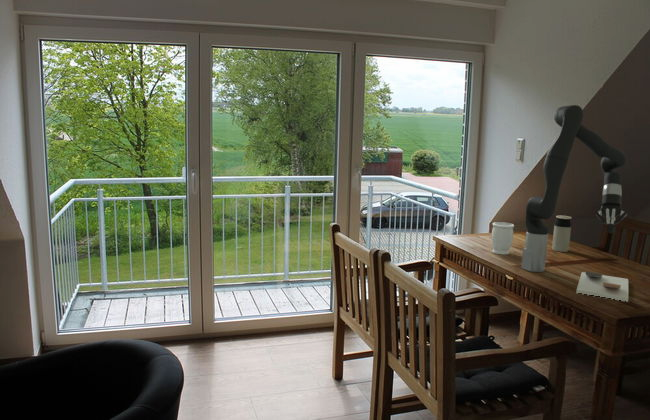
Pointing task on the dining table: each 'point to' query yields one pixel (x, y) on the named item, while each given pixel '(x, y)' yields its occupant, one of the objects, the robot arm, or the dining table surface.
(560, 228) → the travel mug
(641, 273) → the dining table surface
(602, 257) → the dining table surface
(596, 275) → the tile one dot
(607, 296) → the board
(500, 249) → the jar
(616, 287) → the tile two dots
